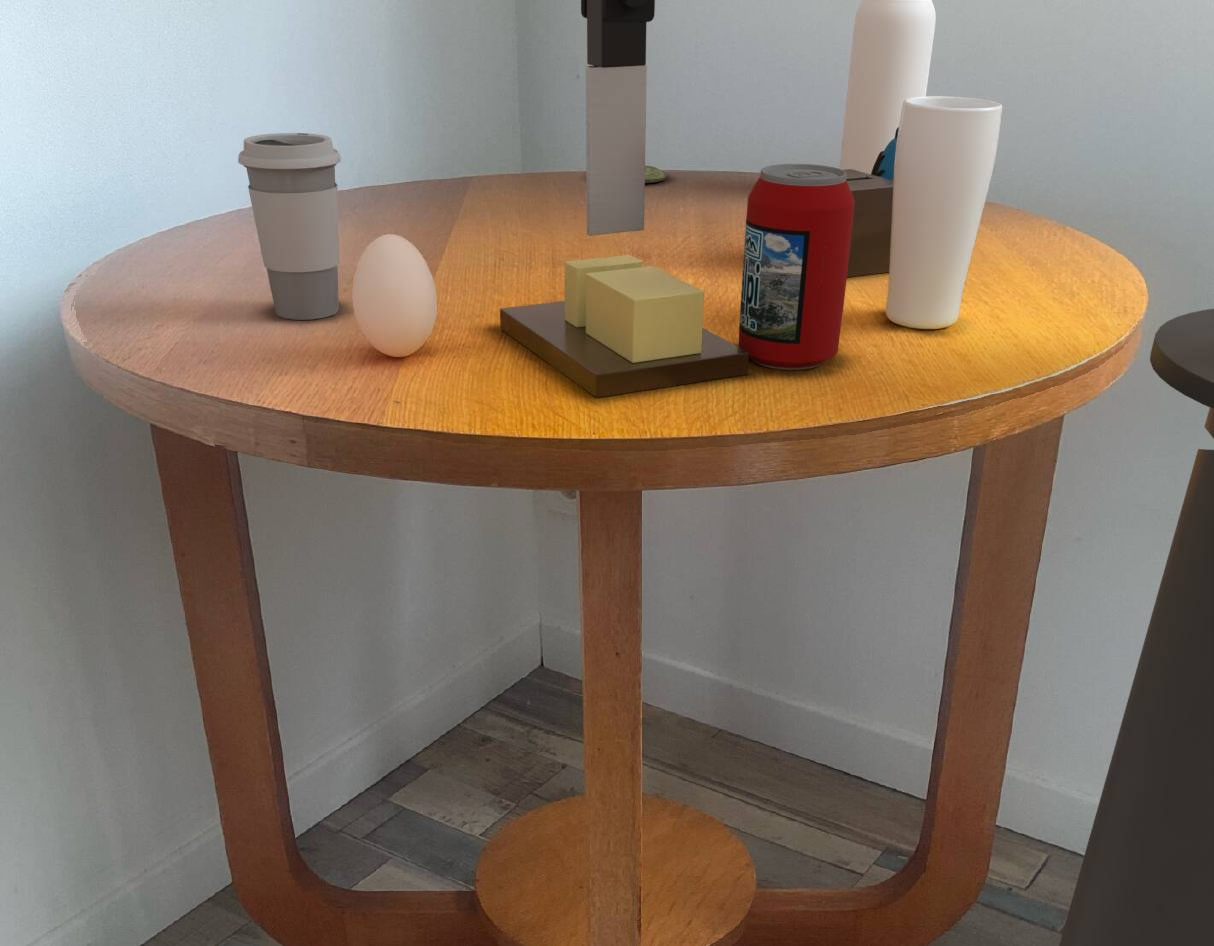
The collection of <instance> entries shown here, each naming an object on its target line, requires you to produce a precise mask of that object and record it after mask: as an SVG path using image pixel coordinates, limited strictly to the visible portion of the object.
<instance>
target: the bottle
mask: <svg viewBox="0 0 1214 946" xmlns="http://www.w3.org/2000/svg"><path fill="white" fill-rule="evenodd" d="M936 15H937V14H936V9H935V6H934V3H933V0H862V1H861V2H860V4H859V6H858V8H857V11H856V14H855V19H854V25H853V35H852V44H851V54H850V64H849V71H848V72H849V73H848V82H847V93H846V101H845V109H844V110H845V111H844V120H843V131H842V140H841V147H840V148H841V150H840V158H839V167H838V169H841V170H845V169H853V170H856V171H860V172H864V173H867V174H871V172H872V169H873V166H874V164H875V162H876V160H877V157H878V155H879V153H880V152H881V151H884V150H885V148H886V146H887V145H888V144H889V142H890V141H891V140H893V139H894V138H895V133H896V129H897V128H898V127H899V123H900V118H901V112H902V107H903V102H904V100H906V99H908V98H913V97H924V96H927V90H928V83H929V77H930V76H929V75H930V68H931V62H932V61H931V60H932V54H933V53H932V52H933V48H934V47H933V45H934V39H935V31H936V23H937V22H936V21H937V16H936Z"/></svg>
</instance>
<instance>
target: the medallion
mask: <svg viewBox="0 0 1214 946" xmlns="http://www.w3.org/2000/svg"><path fill="white" fill-rule="evenodd" d="M666 177H667V173H666V172H664V171H663V170H662V169H660V168H658V167H656V166H651V165H645V184H651V183H658V182H662V181H665V180H666V179H667V178H666Z"/></svg>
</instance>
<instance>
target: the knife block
mask: <svg viewBox="0 0 1214 946" xmlns="http://www.w3.org/2000/svg"><path fill="white" fill-rule="evenodd" d="M844 171H845V172H846V180H847V182H848V185H849V187H850V190H851V193H852V195H853V198H854V201H855V203H854V213H853V223H852V233H851V243H850V253H849V262H848V271H847V278H853V277H861V276H862V277H863V276H868V275H869V276H871V275H878V274H886V273H889V264H890V244H891V223H892V200H893V180H889V179H885V178H882V177H878V176H874V175H871V174H867V173H864V172H860V171H856V170H853V169H845V170H844Z"/></svg>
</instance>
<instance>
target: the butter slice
mask: <svg viewBox="0 0 1214 946" xmlns="http://www.w3.org/2000/svg"><path fill="white" fill-rule="evenodd" d="M643 265H644V262H643V260H641V259H639V258H638V257H637V258H636V257H635V256H633V255H632V254H625V255H615V256H607V257H597V258H587V259H577V260H568V261H564V301H565V320H566V321H567V322H569V323H570V324H572V325H574V326H575V327H585V326H586V274H587V273H595V272H604V271H613V270H622V269H631V268H640V267H644V266H643Z"/></svg>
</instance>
